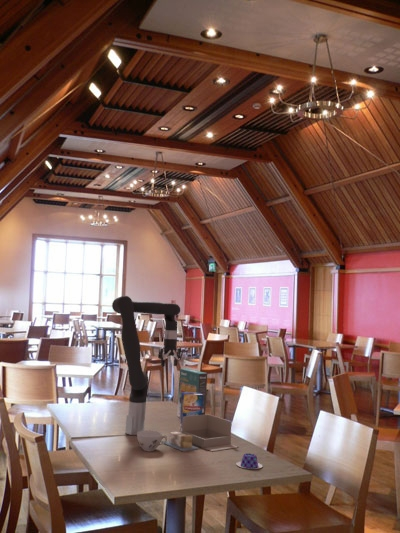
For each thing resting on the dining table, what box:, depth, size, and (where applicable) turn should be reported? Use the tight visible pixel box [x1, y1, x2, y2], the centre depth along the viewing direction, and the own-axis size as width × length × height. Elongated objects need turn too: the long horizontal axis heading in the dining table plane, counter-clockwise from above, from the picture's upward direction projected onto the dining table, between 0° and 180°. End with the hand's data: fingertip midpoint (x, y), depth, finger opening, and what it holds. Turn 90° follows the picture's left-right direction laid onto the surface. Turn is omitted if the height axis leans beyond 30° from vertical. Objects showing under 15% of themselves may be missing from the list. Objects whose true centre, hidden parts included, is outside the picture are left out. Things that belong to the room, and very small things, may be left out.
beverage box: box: [178, 392, 203, 433], centre depth 312 cm, size 7×11×22 cm, turn 104°
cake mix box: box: [176, 368, 208, 418], centre depth 349 cm, size 22×6×30 cm, turn 34°
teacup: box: [136, 429, 168, 452], centre depth 273 cm, size 15×12×8 cm
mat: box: [160, 440, 199, 452], centre depth 283 cm, size 10×18×1 cm, turn 38°
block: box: [168, 431, 193, 448], centre depth 283 cm, size 13×5×6 cm, turn 38°
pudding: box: [235, 452, 263, 470], centre depth 256 cm, size 12×12×5 cm
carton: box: [182, 413, 239, 452], centre depth 291 cm, size 18×26×12 cm
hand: (169, 366), depth 323 cm, fingers open, 8 cm apart
